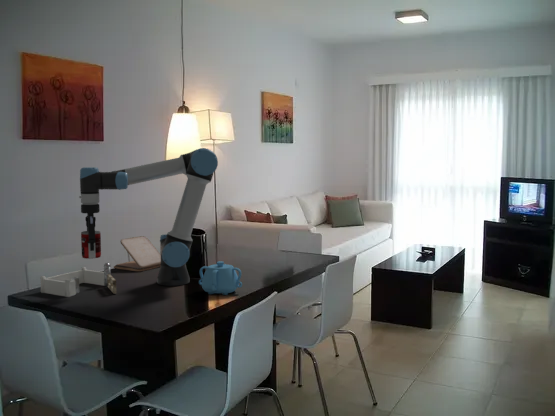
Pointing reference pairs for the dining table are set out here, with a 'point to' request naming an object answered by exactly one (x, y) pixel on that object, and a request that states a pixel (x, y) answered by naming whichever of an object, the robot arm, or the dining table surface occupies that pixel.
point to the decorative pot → (220, 278)
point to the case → (140, 255)
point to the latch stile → (76, 283)
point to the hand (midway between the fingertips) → (91, 256)
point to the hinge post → (106, 272)
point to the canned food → (85, 245)
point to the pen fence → (70, 282)
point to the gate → (111, 283)
